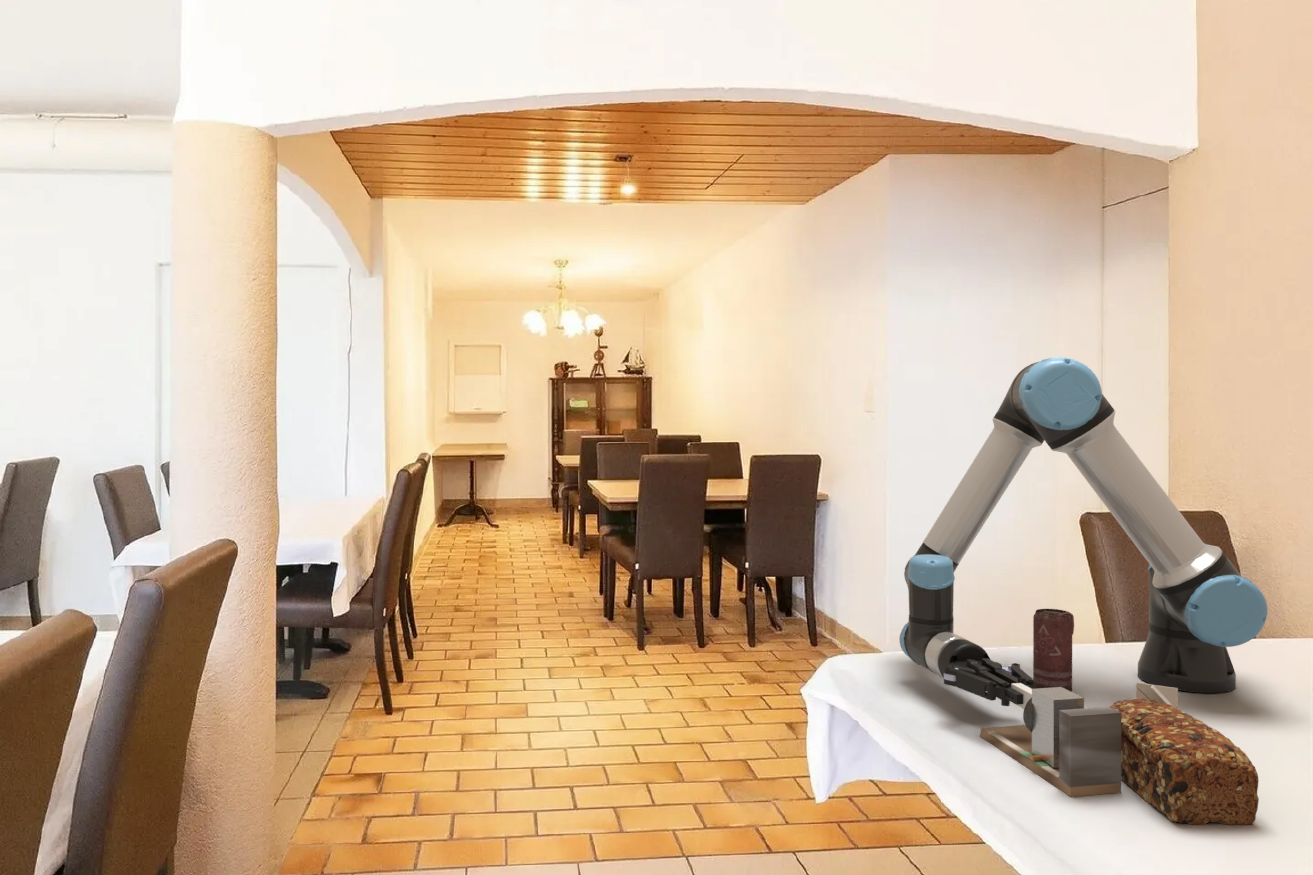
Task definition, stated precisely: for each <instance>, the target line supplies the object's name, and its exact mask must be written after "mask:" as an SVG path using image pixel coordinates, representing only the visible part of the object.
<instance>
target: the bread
mask: <svg viewBox="0 0 1313 875" xmlns="http://www.w3.org/2000/svg"><path fill="white" fill-rule="evenodd" d="M1108 707H1111V708H1113V709H1115V710H1117V711H1119V712H1121V781H1123V782H1124V783H1125V784H1126V785H1127V786H1129V787H1130V789H1132V791H1134V792H1135V793H1137V795H1138V796H1139V797H1141V799H1143V800H1144V801H1145V802H1146V803H1147V804H1149V805H1151V806H1153V808H1156V809H1157V810H1158V811H1159V812H1162V813H1163V814H1164V815H1166V817H1167V818H1168V820H1169V821H1172V822H1175V823H1177V824H1186V823H1187V824H1191V825H1193V826H1204V825H1206V824H1208V823H1219V824H1222V825H1229V826H1234V825H1241V826H1247V825H1253V824H1254V823H1255V821H1256V817H1257V812H1258V808H1259V803H1260V802H1259V800H1260V799H1259V796H1258V789H1259V776H1258V772H1257V769H1256V766H1255V765H1253V763H1252V761H1251V759H1250V758H1249V757H1248V755H1247V754H1246V752H1245V751H1243V750H1242V749H1241V747H1238V746H1237V745H1236V744H1234V742H1232V741H1231V739H1230V738H1228V737H1226V736H1225V735H1224V734H1223V733H1221V732H1220V731H1219V730H1217V729H1214V728H1213V727H1211V726H1209V725H1208V724H1206V723H1204V721H1202V720H1201V719H1198V718H1195V717H1194V716H1192V715H1190V714H1188V713H1186V712H1184V711H1183V710H1181V709H1178V710H1177V709H1176V708H1175V707H1174V706H1173V705H1170V704H1160V703H1158V702H1156V701H1155V700H1150V701H1147V700H1146V699H1144V698H1142V699H1136V698H1133V699H1126V700H1117V701H1115V702H1113V703H1112V705H1110V706H1108Z"/></svg>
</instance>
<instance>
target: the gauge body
mask: <svg viewBox="0 0 1313 875" xmlns="http://www.w3.org/2000/svg"><path fill="white" fill-rule="evenodd" d="M979 733H980V734H979V735H980V737H982V739H984V740H986V741H987V742H988V743H990V744H992V745H993V746H994V747H996V748H998V749H999V750H1000V751H1002V752H1004V753H1005V754H1007V756H1009V757H1011V758H1012V759H1013V760H1015V761H1017V762H1018V763H1020V764H1021V765H1023V767H1025V768H1027V769H1029V770H1030V771H1032V772H1033V773H1035V774H1036V775H1038V777H1040V778H1042V779H1044V780H1045V781H1046V782H1047V783H1049V784H1051V785H1052V786H1054V787H1055V788H1057V789H1058V790H1060V791H1061V792H1062V793H1064V794H1066V795H1067V796H1069V797H1070V798H1076V797H1084V796H1085V797H1086V796H1095V795H1107V794H1118V793H1122V779H1121V712H1119V711H1117V710H1115V709H1113V708H1111V707H1109V706H1102V707H1101V706H1100V707H1084V708H1083V709H1069V710H1059V768H1053V767H1051V766H1050V765H1048V764H1047V763H1045V762H1044V761H1042V760H1032V759H1030V756H1033V754H1032V732H1030V731H1029V730H1028V729H1027V727H1026V725H1025V724H1021V725H1018V724H1017V725H1007V726H1006V725H1005V726H992V727H980V732H979Z"/></svg>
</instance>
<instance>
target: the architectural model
mask: <svg viewBox="0 0 1313 875" xmlns="http://www.w3.org/2000/svg"><path fill="white" fill-rule="evenodd" d="M1135 692H1136V695H1135V696H1136V697H1135V699H1142V698H1144V699H1146V700H1147V701H1150V700H1155V701H1156V702H1158V703H1160V704H1170V705H1173V706H1174V707H1175V708H1176V709H1177V710H1179V690H1178V688H1172V687H1165V686H1158V685H1154V684H1151V683H1144V682H1136V691H1135Z"/></svg>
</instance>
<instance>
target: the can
mask: <svg viewBox="0 0 1313 875" xmlns="http://www.w3.org/2000/svg"><path fill="white" fill-rule="evenodd" d="M1032 621H1033V623H1032V625H1033V626H1032V627H1033V632H1032V634H1033V638H1032V641H1033V643H1032V644H1033V645H1032V646H1033V647H1032V648H1033V651H1032V654H1033V655H1032V656H1033V663H1032V665H1033V669H1032V673H1033V674H1032V675H1033V676H1032V677H1033V678H1032V679H1033V680H1034V681H1035V689H1038V688H1053V687H1062V688H1064V689H1066V690H1068V691H1071V692H1073V635H1074V633H1075V632H1074V631H1075V617H1074V615H1073V613H1071V612H1070V611H1067V610H1063V609H1057V608H1040V609H1039V608H1038V609H1036V610H1035V613H1034V614H1033V620H1032Z"/></svg>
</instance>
